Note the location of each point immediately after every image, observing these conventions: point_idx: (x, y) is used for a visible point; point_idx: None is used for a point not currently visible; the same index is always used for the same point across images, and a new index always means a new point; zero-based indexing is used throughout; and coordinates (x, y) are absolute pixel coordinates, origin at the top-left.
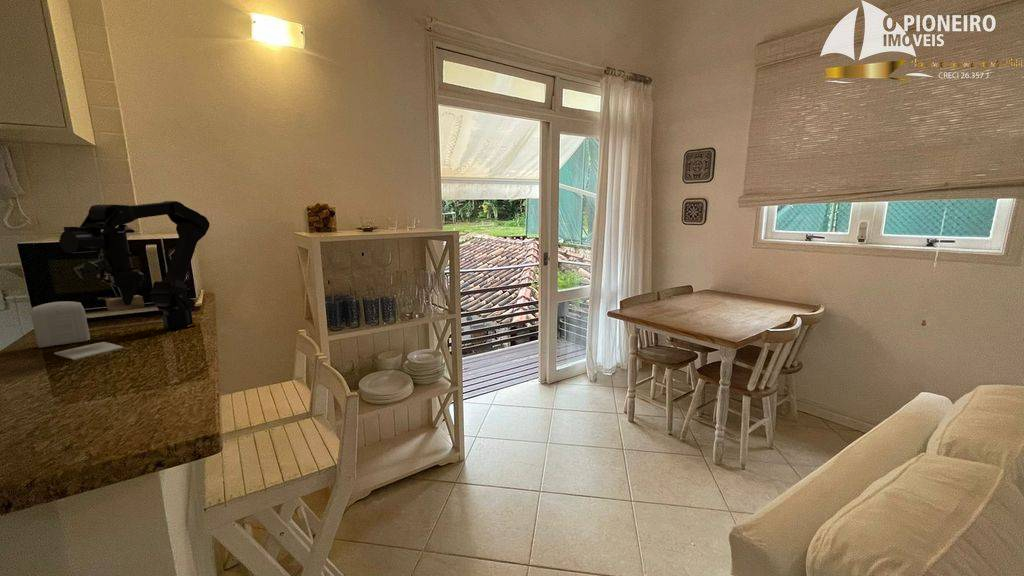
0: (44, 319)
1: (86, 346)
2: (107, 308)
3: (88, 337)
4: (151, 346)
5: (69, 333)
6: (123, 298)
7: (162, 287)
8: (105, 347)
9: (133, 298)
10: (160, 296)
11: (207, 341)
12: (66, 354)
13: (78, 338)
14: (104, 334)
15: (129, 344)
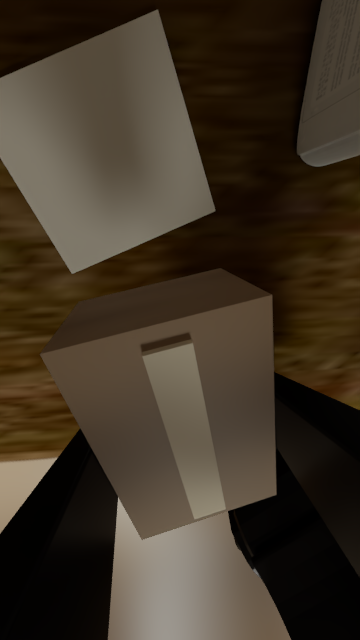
0: None
1: (177, 151)
2: (214, 272)
3: (311, 158)
4: (38, 345)
5: (340, 66)
6: (47, 478)
7: (341, 590)
8: (104, 217)
9: (120, 496)
10: (293, 506)
11: (3, 460)
12: (78, 65)
13: (308, 118)
14: (350, 212)
15: (121, 287)
